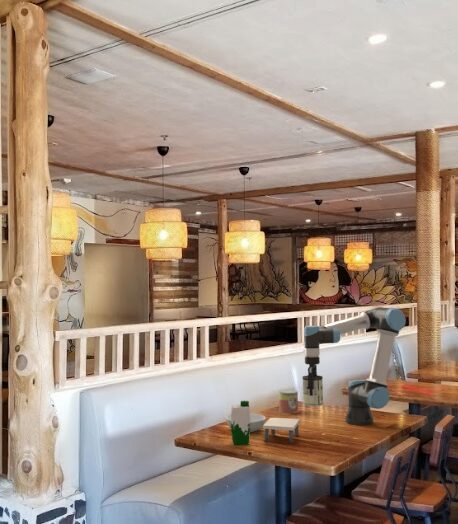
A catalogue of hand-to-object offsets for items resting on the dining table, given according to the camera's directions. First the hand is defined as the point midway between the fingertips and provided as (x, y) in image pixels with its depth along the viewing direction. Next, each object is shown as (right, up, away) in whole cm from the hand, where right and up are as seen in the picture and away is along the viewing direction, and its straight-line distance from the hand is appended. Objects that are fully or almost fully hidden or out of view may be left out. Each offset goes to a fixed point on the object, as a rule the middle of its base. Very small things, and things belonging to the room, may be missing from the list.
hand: (313, 399), depth 311 cm
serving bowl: (-34, -18, +8) cm, 39 cm away
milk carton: (-37, -17, -18) cm, 45 cm away
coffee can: (0, -3, 0) cm, 3 cm away
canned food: (-7, -20, +54) cm, 58 cm away
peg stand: (-17, -17, -9) cm, 26 cm away
